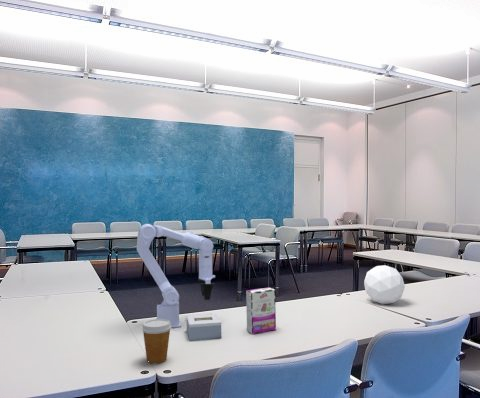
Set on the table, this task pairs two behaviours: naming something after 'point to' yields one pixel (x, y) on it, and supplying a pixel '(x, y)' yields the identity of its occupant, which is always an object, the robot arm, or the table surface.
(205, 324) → the coin box
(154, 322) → the disposable coffee cup
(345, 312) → the table surface
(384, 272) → the polyhedron
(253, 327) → the candy bar box
